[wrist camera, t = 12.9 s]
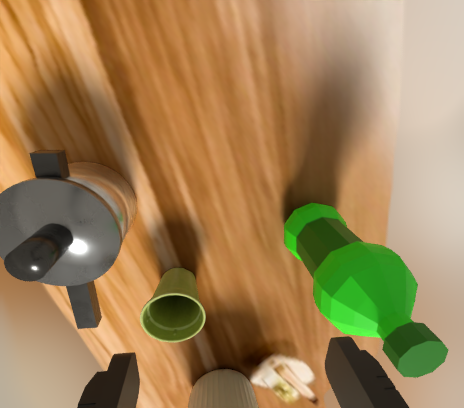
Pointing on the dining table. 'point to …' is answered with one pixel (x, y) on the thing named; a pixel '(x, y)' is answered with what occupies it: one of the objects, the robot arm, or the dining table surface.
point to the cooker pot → (111, 191)
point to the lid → (57, 232)
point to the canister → (222, 391)
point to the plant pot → (174, 308)
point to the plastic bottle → (362, 288)
